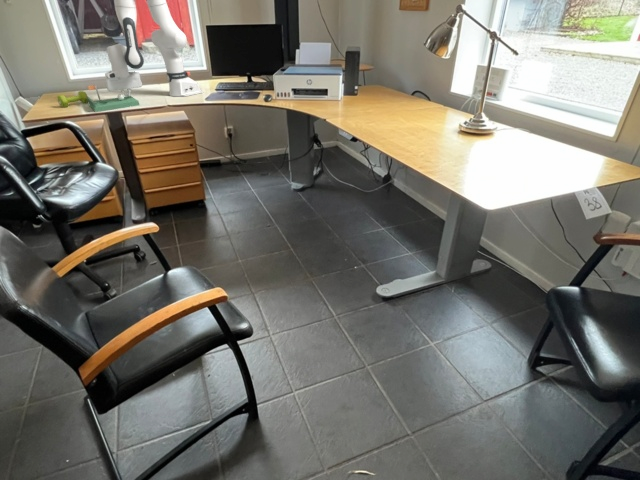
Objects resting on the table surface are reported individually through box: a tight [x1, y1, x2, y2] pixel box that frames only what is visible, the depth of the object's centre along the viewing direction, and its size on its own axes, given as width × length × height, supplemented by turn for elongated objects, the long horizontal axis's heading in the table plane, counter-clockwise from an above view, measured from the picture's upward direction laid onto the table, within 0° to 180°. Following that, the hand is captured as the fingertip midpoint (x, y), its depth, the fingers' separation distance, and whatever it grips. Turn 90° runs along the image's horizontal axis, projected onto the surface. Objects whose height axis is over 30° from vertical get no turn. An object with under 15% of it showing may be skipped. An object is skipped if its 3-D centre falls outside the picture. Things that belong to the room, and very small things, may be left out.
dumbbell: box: [56, 90, 89, 108], centre depth 239 cm, size 16×8×7 cm, turn 141°
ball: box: [117, 93, 125, 100], centre depth 238 cm, size 4×4×4 cm
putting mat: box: [87, 84, 140, 113], centre depth 234 cm, size 25×18×12 cm
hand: (127, 96), depth 240 cm, fingers closed
